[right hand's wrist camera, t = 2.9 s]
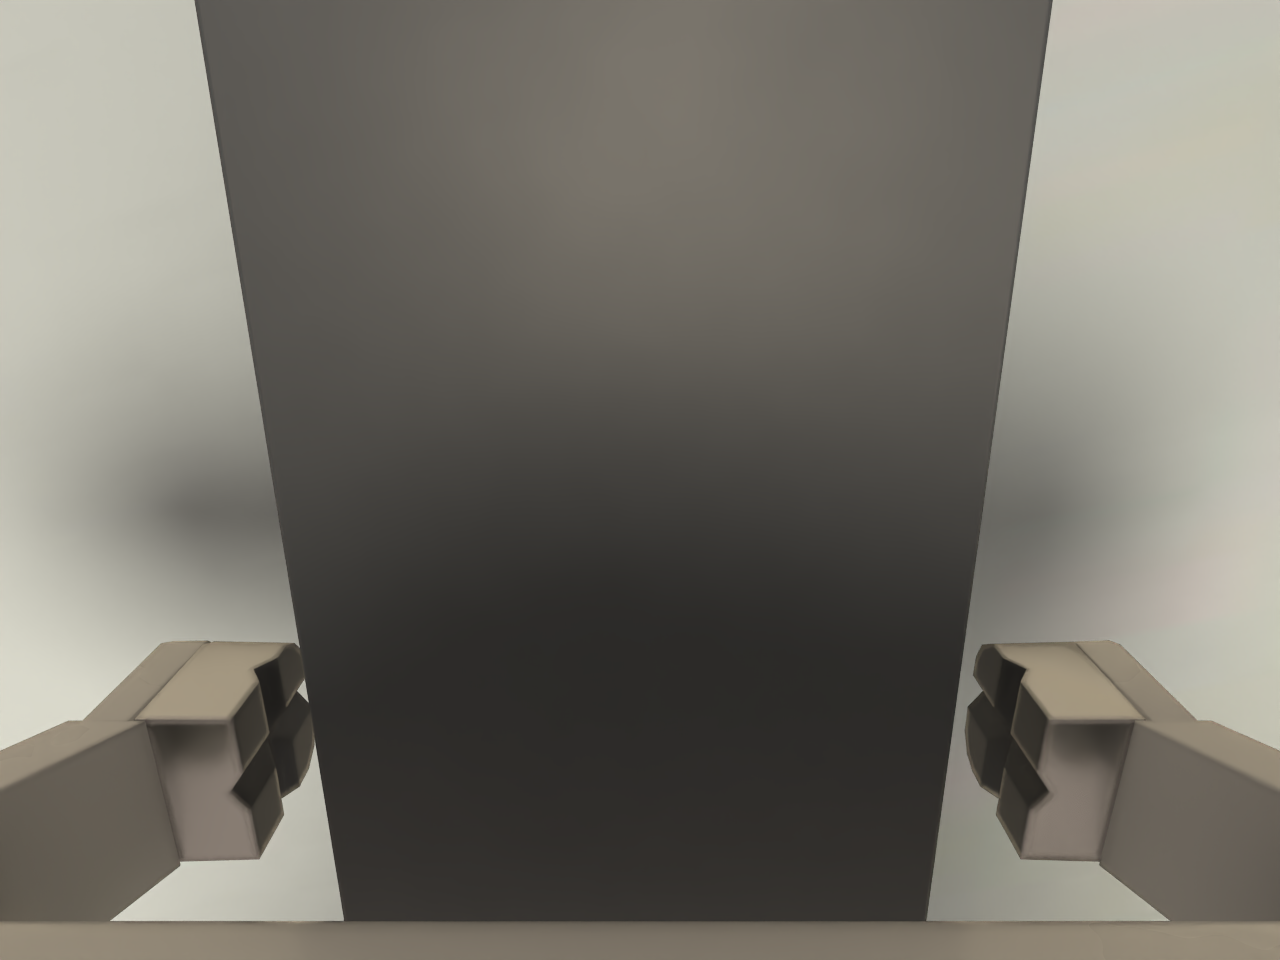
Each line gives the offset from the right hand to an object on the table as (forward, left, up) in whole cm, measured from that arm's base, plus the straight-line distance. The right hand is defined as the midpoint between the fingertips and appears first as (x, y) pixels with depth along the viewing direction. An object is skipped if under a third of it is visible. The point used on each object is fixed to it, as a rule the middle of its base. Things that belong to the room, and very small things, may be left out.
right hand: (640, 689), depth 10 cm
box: (+9, 0, -7) cm, 12 cm away
